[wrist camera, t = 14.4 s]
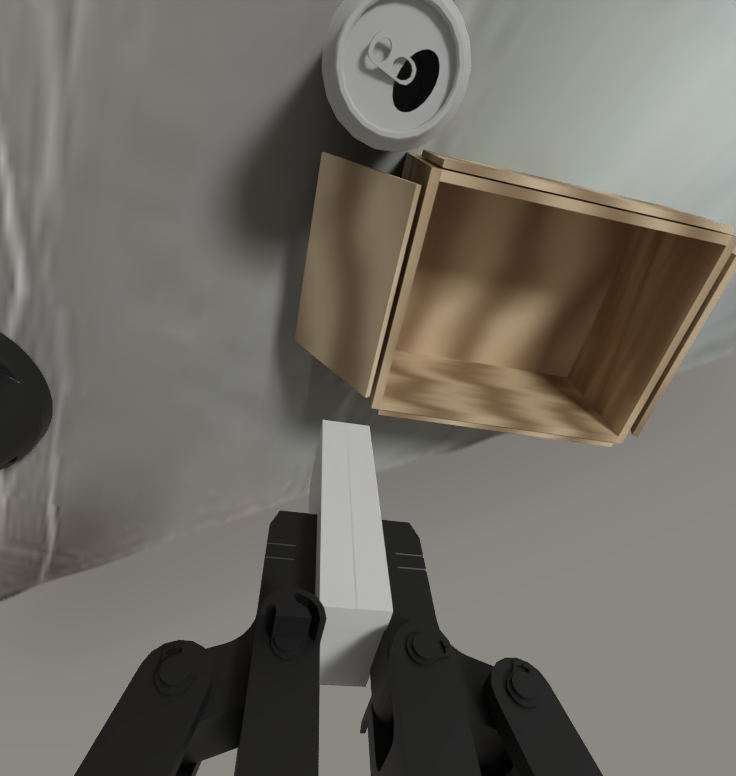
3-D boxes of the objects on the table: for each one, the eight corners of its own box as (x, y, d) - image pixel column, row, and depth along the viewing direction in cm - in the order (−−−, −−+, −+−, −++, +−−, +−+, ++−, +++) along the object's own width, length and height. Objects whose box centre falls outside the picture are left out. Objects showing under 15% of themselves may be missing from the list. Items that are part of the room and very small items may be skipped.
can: (389, 162, 36) (414, 186, 25) (302, 93, 33) (290, 87, 23) (455, 63, 33) (513, 44, 22) (366, -21, 30) (385, -87, 20)
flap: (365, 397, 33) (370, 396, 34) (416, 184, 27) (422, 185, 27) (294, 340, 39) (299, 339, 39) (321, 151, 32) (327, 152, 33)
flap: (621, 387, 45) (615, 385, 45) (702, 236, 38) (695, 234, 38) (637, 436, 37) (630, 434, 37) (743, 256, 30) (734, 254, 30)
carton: (361, 353, 43) (369, 415, 35) (408, 144, 35) (434, 157, 26) (564, 386, 47) (618, 449, 38) (651, 201, 38) (745, 229, 30)
